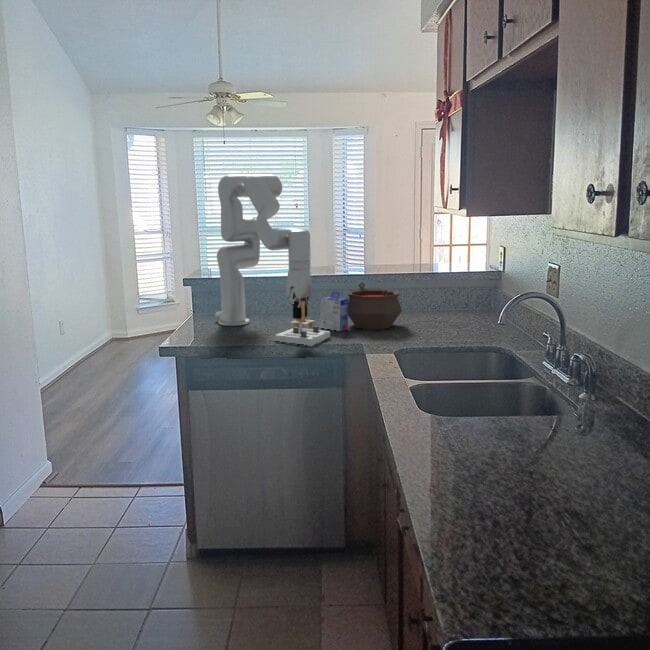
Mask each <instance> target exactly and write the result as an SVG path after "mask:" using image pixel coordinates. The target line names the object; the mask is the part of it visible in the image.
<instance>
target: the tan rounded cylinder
mask: <svg viewBox="0 0 650 650" xmlns="http://www.w3.org/2000/svg"><path fill="white" fill-rule="evenodd" d="M295 301H297V303H298V300H295ZM300 308H301V310H302V318H301V319H295V320H296V321H299V334H300V335H301V331H302V321H305V319H306V317H305V301H304V300H301V304H300Z"/></svg>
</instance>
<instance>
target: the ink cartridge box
mask: <svg viewBox="0 0 650 650" xmlns="http://www.w3.org/2000/svg"><path fill="white" fill-rule="evenodd" d="M335 294H336V295H335ZM340 295H341V292H340V291H339V292H338V291H332V293H331V296H326V297H321V298H320V328H319V329H321V328H324V329H323V330H327V329H330V330H329V331H334V330H336V331H335V332H344V331H347V330H346V329H349V316H348V298H342V297H340ZM343 330H344V331H343Z"/></svg>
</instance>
